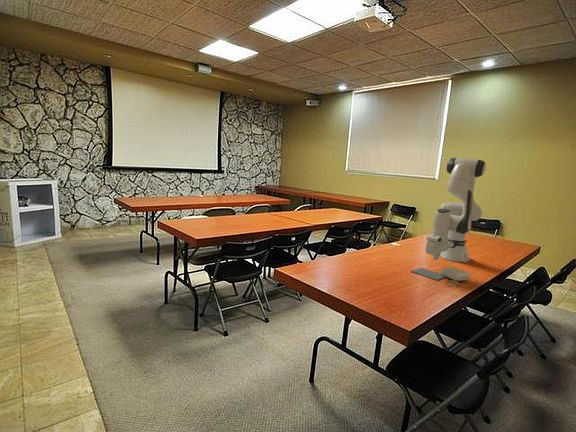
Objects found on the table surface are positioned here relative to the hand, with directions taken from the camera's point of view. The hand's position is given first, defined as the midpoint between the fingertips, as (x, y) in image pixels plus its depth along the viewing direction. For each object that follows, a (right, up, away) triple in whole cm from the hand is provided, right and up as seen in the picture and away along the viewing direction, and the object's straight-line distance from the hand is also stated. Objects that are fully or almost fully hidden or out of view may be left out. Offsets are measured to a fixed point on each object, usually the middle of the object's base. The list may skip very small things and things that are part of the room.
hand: (435, 259), depth 192 cm
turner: (+5, -11, -12) cm, 17 cm away
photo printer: (+5, -6, -2) cm, 8 cm away
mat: (-5, -8, -2) cm, 10 cm away
